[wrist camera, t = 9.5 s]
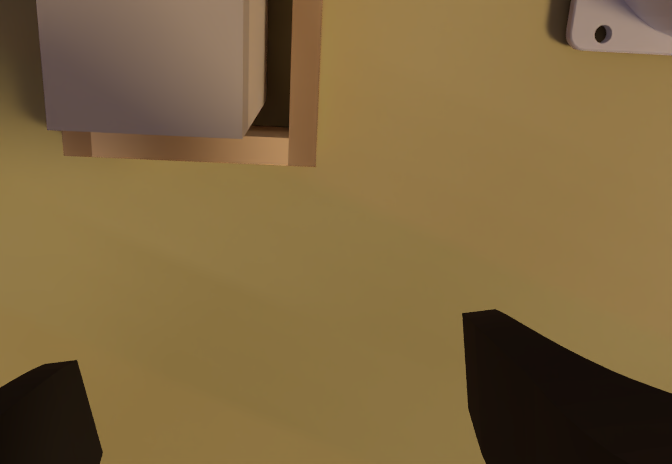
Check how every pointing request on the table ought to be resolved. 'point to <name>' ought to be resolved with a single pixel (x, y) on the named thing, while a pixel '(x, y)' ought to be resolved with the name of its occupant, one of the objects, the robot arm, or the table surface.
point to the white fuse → (154, 65)
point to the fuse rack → (258, 141)
